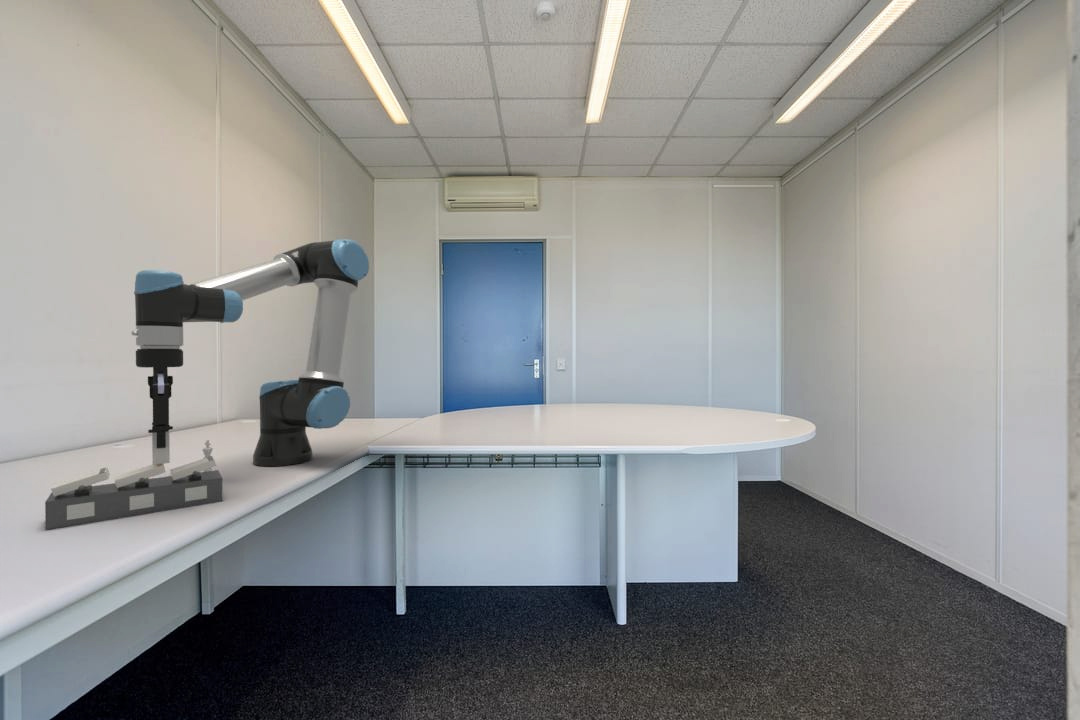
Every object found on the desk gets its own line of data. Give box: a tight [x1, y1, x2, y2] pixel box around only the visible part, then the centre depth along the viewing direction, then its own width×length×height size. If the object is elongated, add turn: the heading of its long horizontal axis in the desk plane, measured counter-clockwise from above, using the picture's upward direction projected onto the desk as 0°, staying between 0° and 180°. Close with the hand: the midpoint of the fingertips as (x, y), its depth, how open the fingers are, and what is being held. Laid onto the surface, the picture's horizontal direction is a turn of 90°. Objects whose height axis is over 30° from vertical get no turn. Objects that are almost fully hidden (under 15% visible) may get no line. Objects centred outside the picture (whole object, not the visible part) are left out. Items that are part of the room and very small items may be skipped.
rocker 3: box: [169, 455, 217, 481], centre depth 100 cm, size 8×4×2 cm, turn 129°
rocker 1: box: [50, 467, 111, 496], centre depth 89 cm, size 8×4×2 cm, turn 129°
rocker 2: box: [114, 464, 166, 488], centre depth 94 cm, size 8×4×2 cm, turn 129°
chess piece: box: [202, 439, 213, 472], centre depth 114 cm, size 5×5×10 cm
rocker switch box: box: [44, 469, 223, 531], centre depth 94 cm, size 26×8×6 cm, turn 130°
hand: (161, 463), depth 96 cm, fingers closed
